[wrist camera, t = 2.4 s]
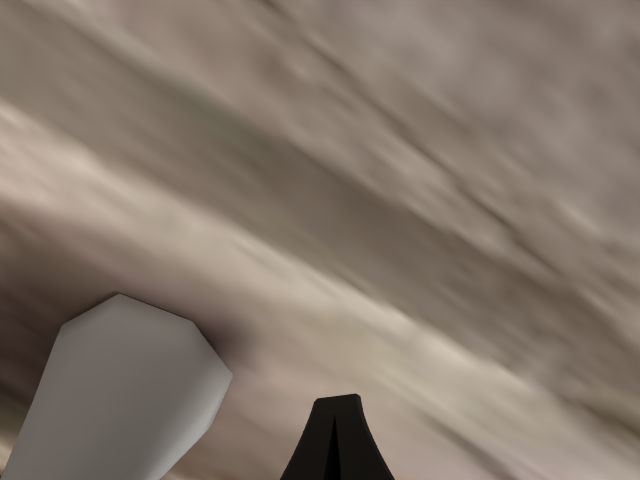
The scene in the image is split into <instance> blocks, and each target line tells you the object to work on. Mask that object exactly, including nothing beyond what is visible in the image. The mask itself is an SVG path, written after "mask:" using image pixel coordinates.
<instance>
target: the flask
mask: <svg viewBox="0 0 640 480" xmlns="http://www.w3.org/2000/svg"><path fill="white" fill-rule="evenodd" d="M232 377H233V375H232V373H231V372H230V371H229V369H228V368H227V367H226V365H225V364H224V363H223V361H222V360H221V359H220V357H219V356H218V355H217V354H216V352H215V351H214V350H213V348H212V347H211V346H210V344H209V343H208V342H207V340H206V339H205V338H204V336H203V335H202V334H201V333H200V331H199V330H198V329H197V327H196V326H195V325H194V323H193V322H192V321H190V320H187V319H185V318H182V317H180V316H177V315H174V314H172V313H169V312H166V311H164V310H161V309H159V308H156V307H153V306H151V305H148V304H145V303H143V302H140V301H138V300H135V299H132V298H130V297H127V296H124V295H122V294H117V295H115V296H114V297H112V298H110V299H108V300H106V301H105V302H103V303H101V304H99V305H97V306H96V307H94V308H92V309H90V310H88V311H86V312H85V313H83V314H81V315H79V316H77V317H76V318H74V319H72V320H70V321H68V322H66V323H65V324H63V325H62V326H61V328H60V331H59V333H58V336H57V338H56V340H55V343H54V345H53V348H52V351H51V354H50V356H49V359H48V362H47V364H46V367H45V370H44V373H43V375H42V378H41V381H40V383H39V386H38V389H37V392H36V394H35V397H34V400H33V402H32V405H31V407H30V409H29V412H28V414H27V417H26V419H25V421H24V424H23V426H22V428H21V431H20V433H19V436H18V438H17V440H16V443H15V445H14V448H13V450H12V452H11V455H10V457H9V460H8V462H7V464H6V467H5V469H4V472H3V474H2V476H1V479H0V480H159V479H160V478H161V477H162V476H163V475H164V474H165V473H166V472H167V471H168V470H169V469H170V468H171V467H172V466H173V465H174V464H175V463H176V462H177V461H178V460H179V459H180V458H181V457H182V456H183V455H184V454H185V453H186V452H187V451H188V450H189V449H190V448H191V447H192V446H193V445H194V444H195V443H196V442H197V441H198V440H199V438H200V437H201V436H202V435H203V434H204V433H205V432H206V431H207V430H208V429H209V428H210V426H211V425H212V422H213V420H214V418H215V416H216V413H217V411H218V409H219V407H220V404H221V402H222V400H223V398H224V395H225V393H226V391H227V389H228V386H229V384H230V382H231V380H232Z"/></svg>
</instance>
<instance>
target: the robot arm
mask: <svg viewBox="0 0 640 480" xmlns="http://www.w3.org/2000/svg"><path fill="white" fill-rule="evenodd" d="M280 480H395V479H394V477H393V476H392V474H391V472H390V470H389V469H388V467H387V465H386V463H385V461H384V459H383V458H382V456H381V454H380V452H379V450H378V448H377V445H376V443H375V441H374V439H373V437H372V435H371V432H370V430H369V427H368V425H367V422H366V419H365V416H364V413H363V408H362V402H361V397H360V396H359V395H358V394H349V395H341V396H333V397H326V398H318V399H316V401H315V402H314V405H313V408H312V411H311V414H310V416H309V419H308V422H307V424H306V427H305V429H304V431H303V434H302V436H301V438H300V440H299V443H298V445H297V447H296V449H295V451H294V454H293V456H292V458H291V460H290V462H289V463H288V465H287V467H286V469H285V471H284V473H283V475H282V477H281V478H280Z"/></svg>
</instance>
